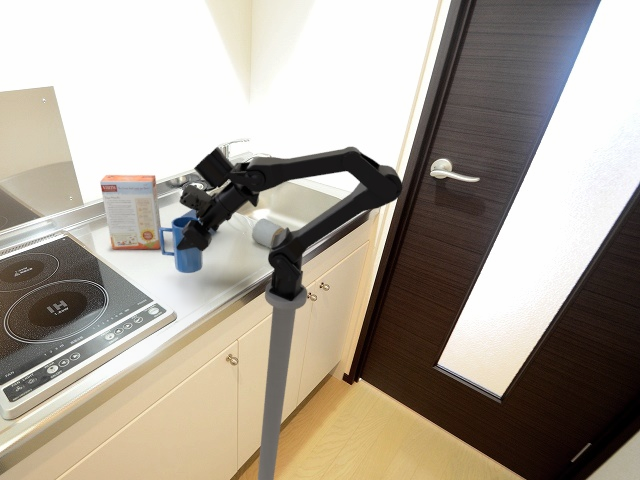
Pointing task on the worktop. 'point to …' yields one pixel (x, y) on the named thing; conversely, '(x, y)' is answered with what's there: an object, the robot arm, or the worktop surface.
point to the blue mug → (185, 258)
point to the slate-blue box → (193, 214)
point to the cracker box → (132, 211)
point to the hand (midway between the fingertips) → (182, 241)
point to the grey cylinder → (265, 232)
